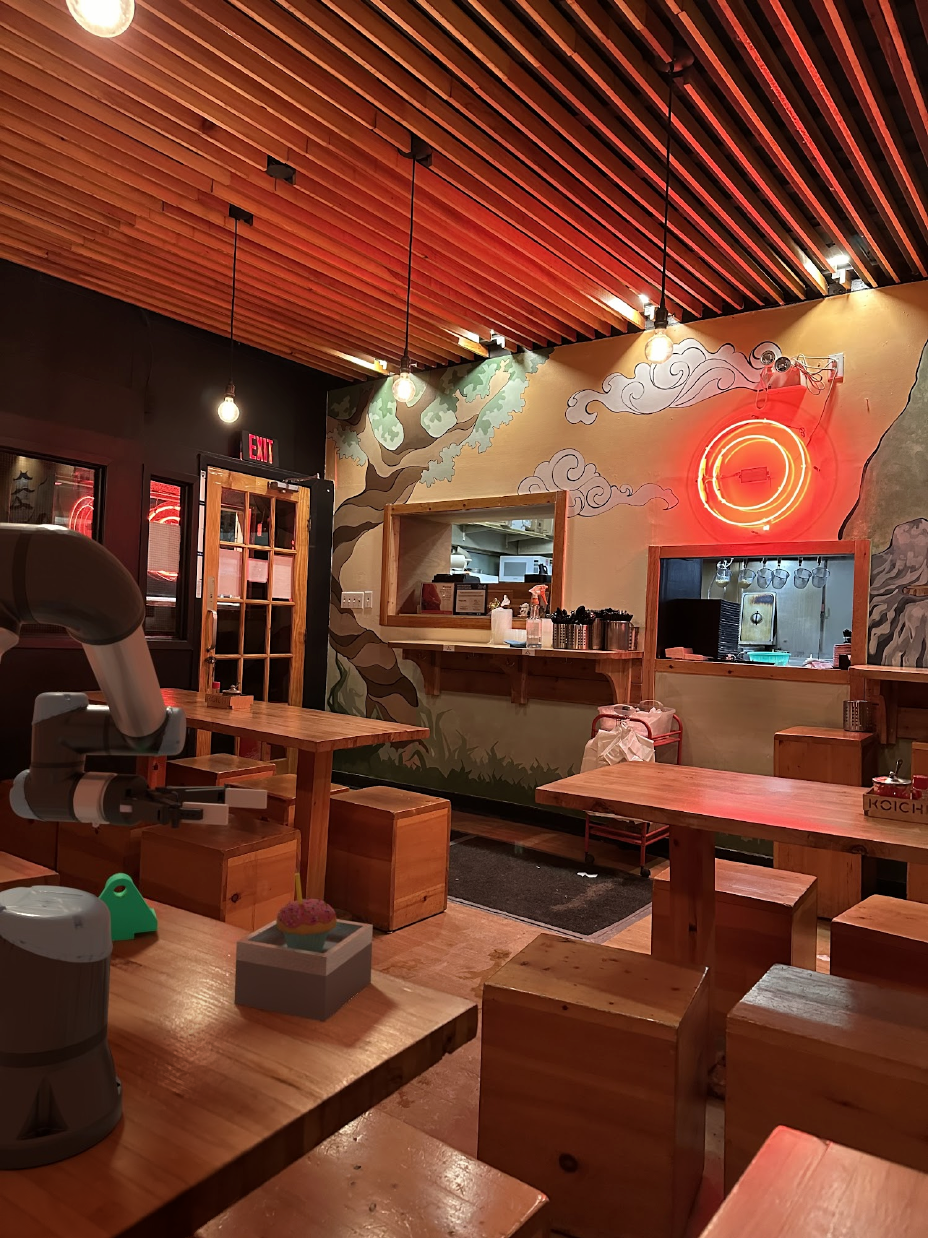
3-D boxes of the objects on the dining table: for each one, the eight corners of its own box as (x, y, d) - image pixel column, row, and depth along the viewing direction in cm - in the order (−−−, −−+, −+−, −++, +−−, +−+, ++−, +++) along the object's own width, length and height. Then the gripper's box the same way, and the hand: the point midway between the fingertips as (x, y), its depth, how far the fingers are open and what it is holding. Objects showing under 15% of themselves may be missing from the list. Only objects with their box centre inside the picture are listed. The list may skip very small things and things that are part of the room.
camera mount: (152, 922, 149) (155, 863, 149) (157, 937, 142) (159, 875, 142) (77, 931, 144) (80, 869, 144) (78, 946, 137) (80, 882, 137)
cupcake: (296, 966, 116) (299, 878, 116) (263, 949, 122) (266, 864, 122) (347, 952, 122) (350, 867, 122) (313, 935, 128) (316, 855, 128)
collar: (326, 976, 113) (326, 957, 113) (236, 960, 117) (236, 941, 117) (372, 942, 126) (372, 924, 126) (289, 928, 130) (290, 912, 131)
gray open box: (324, 1022, 112) (326, 976, 113) (234, 1003, 117) (236, 960, 117) (370, 982, 126) (372, 942, 126) (288, 967, 130) (289, 928, 130)
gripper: (156, 810, 140) (278, 817, 136) (60, 841, 115) (207, 851, 112) (158, 764, 140) (280, 770, 137) (63, 785, 116) (209, 793, 112)
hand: (247, 806), depth 124 cm, fingers open, 13 cm apart
